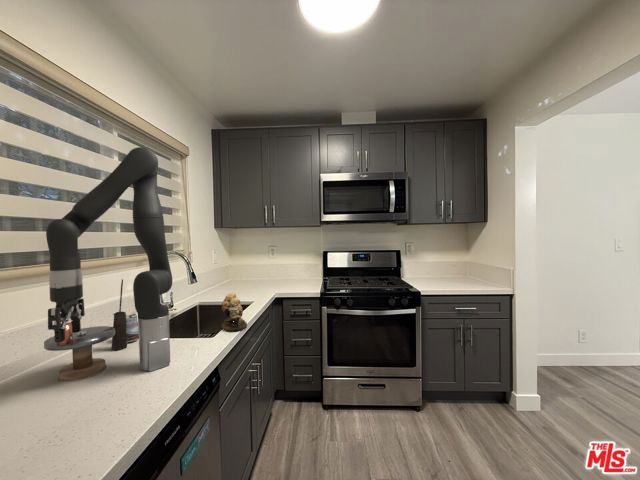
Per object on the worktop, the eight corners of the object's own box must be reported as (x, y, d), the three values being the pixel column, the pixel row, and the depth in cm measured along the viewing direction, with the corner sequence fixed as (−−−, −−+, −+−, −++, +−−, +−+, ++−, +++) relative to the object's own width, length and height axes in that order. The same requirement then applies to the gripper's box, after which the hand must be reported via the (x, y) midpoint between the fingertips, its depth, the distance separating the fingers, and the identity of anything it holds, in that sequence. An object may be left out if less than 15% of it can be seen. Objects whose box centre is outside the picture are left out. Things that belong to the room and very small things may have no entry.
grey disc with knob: (71, 332, 100) (70, 311, 100) (125, 328, 103) (125, 308, 103) (26, 353, 82) (25, 328, 82) (93, 348, 85) (92, 324, 85)
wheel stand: (109, 371, 93) (107, 339, 93) (60, 385, 84) (58, 351, 84) (102, 360, 101) (101, 331, 101) (57, 372, 92) (56, 341, 92)
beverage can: (131, 344, 116) (130, 316, 116) (116, 343, 118) (115, 315, 117) (143, 339, 122) (142, 312, 122) (129, 338, 124) (128, 311, 124)
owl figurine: (251, 330, 131) (250, 294, 131) (225, 334, 125) (224, 297, 125) (242, 320, 147) (241, 288, 146) (219, 324, 141) (218, 290, 141)
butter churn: (112, 356, 105) (109, 282, 104) (97, 352, 109) (94, 281, 108) (136, 346, 113) (134, 278, 113) (121, 343, 117) (119, 278, 117)
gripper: (65, 281, 91) (67, 330, 91) (34, 289, 77) (37, 347, 77) (92, 280, 93) (94, 328, 93) (67, 287, 79) (69, 343, 80)
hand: (68, 336), depth 85 cm, fingers open, 8 cm apart
